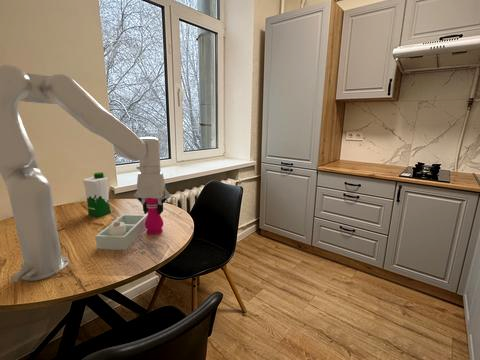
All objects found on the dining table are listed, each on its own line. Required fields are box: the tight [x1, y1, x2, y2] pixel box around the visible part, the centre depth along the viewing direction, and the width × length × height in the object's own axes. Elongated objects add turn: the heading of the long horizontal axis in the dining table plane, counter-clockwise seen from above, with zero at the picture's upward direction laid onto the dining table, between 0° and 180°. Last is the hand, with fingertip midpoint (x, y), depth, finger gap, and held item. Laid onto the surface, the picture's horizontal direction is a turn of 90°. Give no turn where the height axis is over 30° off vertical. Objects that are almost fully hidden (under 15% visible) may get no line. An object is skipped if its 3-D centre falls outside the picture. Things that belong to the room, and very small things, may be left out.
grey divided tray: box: [95, 213, 148, 251], centre depth 102 cm, size 20×11×6 cm, turn 178°
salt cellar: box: [108, 221, 126, 236], centre depth 97 cm, size 6×6×8 cm
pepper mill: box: [145, 198, 164, 236], centre depth 105 cm, size 7×7×20 cm
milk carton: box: [82, 172, 112, 218], centre depth 125 cm, size 9×9×20 cm
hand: (153, 212), depth 105 cm, fingers closed on pepper mill, 5 cm apart
